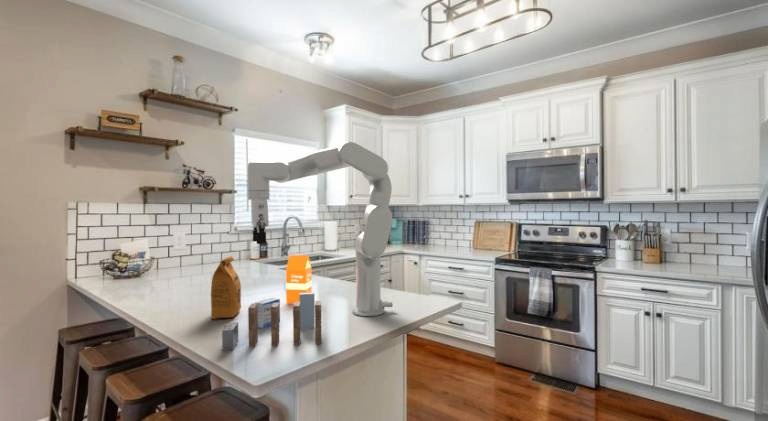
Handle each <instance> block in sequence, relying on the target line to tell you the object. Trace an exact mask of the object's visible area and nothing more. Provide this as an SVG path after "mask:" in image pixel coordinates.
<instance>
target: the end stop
mask: <svg viewBox="0 0 768 421" xmlns="http://www.w3.org/2000/svg"><path fill="white" fill-rule="evenodd" d="M221 336H222V337H221V338H222V341H221V343H222V344H221V347H222V348H221V349H222V350H221V351H226V352H227V351H234V350H235V348H236V346H237V344H238V343H239V322H237V321H236V322H228V323H226V325H225V326H224V327H223V329H222V330H221Z"/></svg>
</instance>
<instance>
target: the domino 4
mask: <svg viewBox="0 0 768 421" xmlns="http://www.w3.org/2000/svg"><path fill="white" fill-rule="evenodd" d="M315 301H316V300H315V292H312V293H300V294H299V302H300V330H315Z"/></svg>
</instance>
